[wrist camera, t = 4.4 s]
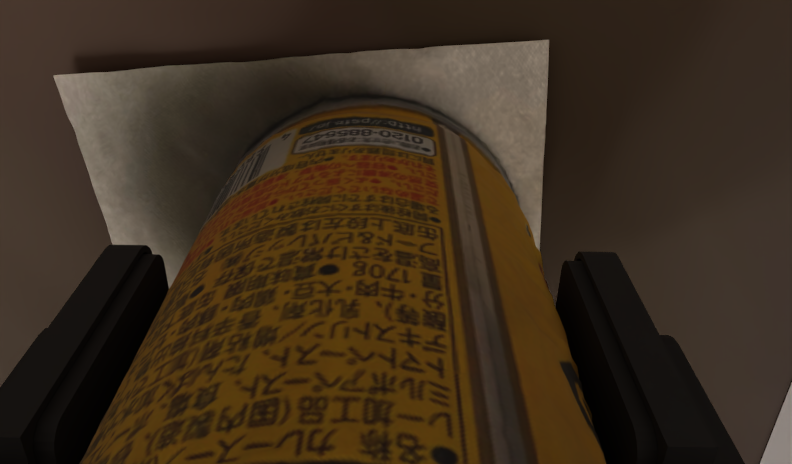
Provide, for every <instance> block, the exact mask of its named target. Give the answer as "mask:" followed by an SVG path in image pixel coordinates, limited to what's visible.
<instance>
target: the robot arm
mask: <svg viewBox="0 0 792 464" xmlns="http://www.w3.org/2000/svg"><path fill="white" fill-rule="evenodd" d="M168 290H169V286H168V281H167V275H166V270H165V264H164V260H163V258H162V256H161V255H159V254H152V251H151V249H150V247H148V246H147V245H109V246H108V247H107V248H106V249H105V250H104V251H103V253H102V254H101V255H100V257H99V258H98V260H97V261H96V262H95V264H94V265H93V266H92V268H91V269H90V271H89V272H88V273H87V275H86V276H85V277H84V279H83V280H82V282H81V283H80V284H79V286H78V287H77V288H76V290H75V291H74V293H73V294H72V295H71V297H70V298H69V300H68V301H67V302H66V304H65V305H64V306H63V308H62V309H61V311H60V312H59V313H58V315H57V316H56V317H55V319H54V320H53V322H52V323H51V324H50V326H49V327H48V328H46V329H44V330H43V331H42V332H41V333H40V334H39V335H38V337H37V338H36V339H35V341H34V342H33V344H32V345H31V346H30V348H29V349H28V350H27V352H26V353H25V354H24V356H23V357H22V359H21V360H20V361H19V363H18V364H17V365H16V367H15V368H14V369H13V371H12V372H11V374H10V375H9V376H8V378H7V379H6V380H5V382H4V383H3V384H2V386H1V387H0V464H79V463H80V462H81V460H82V458H83V457H84V455H85V453H86V451H87V449H88V447H89V445H90V443H91V441H92V438H93V437H94V435H95V434H96V431H97V429H98V427H99V425H100V423H101V420H102V419H103V417H104V415H105V413H106V412H107V410H108V408H109V406H110V405H111V403H112V401H113V399H114V397H115V395H116V393H117V391H118V388H119V387H120V385H121V382H122V381H123V379H124V377H125V375H126V374H127V372H128V370H129V368H130V366H131V364H132V362H133V360H134V358H135V356H136V354H137V352H138V350H139V348H140V346H141V344H142V342H143V340H144V338H145V336H146V334H147V332H148V330H149V328H150V326H151V324H152V322H153V321H154V319H155V317H156V315H157V313H158V311H159V309H160V307H161V305H162V303H163V301H164V299H165V297H166V295H167V292H168ZM556 310H557V312H558V315H559V317H560V319H561V322H562V324H563V327H564V329H565V332H566V335H567V341H568V345H569V349H570V353H571V356H572V359H573V360H574V362H575V364H576V365H577V367H578V374H579V380H580V381H581V382H582V389H583V394H584V399H585V401H586V403H587V405H588V407H589V409H590V411H591V413H592V422H593V425H594V428H595V431H596V433H597V435H598V438H599V441H600V444H601V447H602V449H603V452H604V455H605V459H606V463H607V464H745V463H744V462H743V460H742V458H741V456H740V454H739V452H738V451H737V449H736V447H735V445H734V443H733V442H732V440H731V438H730V436H729V434H728V433H727V431H726V429H725V427H724V425H723V424H722V422H721V420H720V418H719V416H718V415H717V413H716V411H715V409H714V407H713V406H712V404H711V402H710V400H709V398H708V397H707V395H706V393H705V391H704V389H703V388H702V386H701V384H700V382H699V380H698V379H697V377H696V375H695V373H694V371H693V370H692V368H691V366H690V364H689V362H688V361H687V359H686V357H685V355H684V353H683V352H682V350H681V348H680V346H679V344H678V343H677V342H676V340H675V339H674V338H673V337H671V336H669V335H659V333H658V331H657V330H656V328H655V326H654V324H653V322H652V320H651V318H650V316H649V314H648V312H647V311H646V309H645V307H644V305H643V303H642V301H641V299H640V297H639V295H638V293H637V292H636V290H635V288H634V286H633V284H632V282H631V280H630V278H629V276H628V274H627V273H626V271H625V269H624V267H623V265H622V263H621V261H620V259H619V257H618V256H617V254H616V253H614V252H578V253H577V254H576V256H575V259H574V261H564V263H563V265H562V270H561V276H560V283H559V289H558V295H557V302H556Z"/></svg>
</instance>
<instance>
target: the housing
mask: <svg viewBox="0 0 792 464" xmlns="http://www.w3.org/2000/svg"><path fill="white" fill-rule="evenodd" d="M760 464H792V383H791V386H790V388H789V391H788V393H787V396H786V398H785V401H784V403H783V406H782V408H781V411H780V413H779V416H778V419H777V421H776V424H775V426H774V429H773V431H772V434H771V436H770V439H769V441H768V444H767V446H766V449H765V452H764V454H763V457H762V459H761V462H760Z"/></svg>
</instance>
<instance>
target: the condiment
mask: <svg viewBox="0 0 792 464" xmlns="http://www.w3.org/2000/svg"><path fill="white" fill-rule="evenodd" d="M548 62H549V40H538V41H524V42H505V43H489V44H473V45H452V46H436V47H426V48H421V49H391V50H377V51H361V52H354V53H335V54H324V55H314V56H304V57H286V58H278V59H271V60H262V61H251V62H223V63H210V64H195V65H172V66H161V67H150V68H141V69H133V70H124V71H114V72H96V73H79V74H65V75H53V77H54V80H55V82H56V85H57V87H58V90H59V93H60V96H61V98H62V102H63V105H64V108H65V111H66V114H67V116H68V118H69V120H70V122H71V124H72V126H73V128H74V130H75V133H76V136H77V140H78V144H79V147H80V150H81V152H82V155H83V158H84V160H85V164H86V167H87V169H88V172H89V175H90V179H91V182H92V186H93V188H94V191H95V194H96V197H97V200H98V203H99V205H100V207H101V210H102V213H103V216H104V219H105V221H106V224H107V228H108V232H109V235H110V238H111V242H112V245H147V246H148V247H150V249H151V251H152V254H159V255H161V256H162V258H163V260H164V264H165V270H166V275H167V281H168V286H169V290H168V292H167V295H166V297H165V299H164V301H163V303H162V305H161V307H160V309H159V311H158V313H157V315H156V317H155V319H154V321H153V322H152V324H151V326H150V328H149V330H148V332H147V334H146V336H145V338H144V340H143V342H142V344H141V346H140V348H139V350H138V352H137V354H136V356H135V358H134V360H133V362H132V364H131V366H130V368H129V370H128V372H127V374H126V375H125V377H124V379H123V381H122V382H121V385H120V387H119V388H118V391H117V393H116V395H115V397H114V399H113V401H112V403H111V405H110V406H109V408H108V410H107V412H106V413H105V415H104V417H103V419H102V420H101V423H100V425H99V427H98V429H97V431H96V434H95V435H94V437H93V438H92V441H91V443H90V445H89V447H88V449H87V451H86V453H85V455H84V457H83V458H82V460H81V462H80V463H79V464H607V463H606V459H605V455H604V452H603V449H602V447H601V444H600V441H599V438H598V435H597V433H596V431H595V428H594V425H593V422H592V413H591V411H590V409H589V407H588V405H587V403H586V401H585V399H584V394H583V389H582V382H581V381H580V380H579V374H578V367H577V365H576V364H575V362H574V360H573V359H572V356H571V353H570V349H569V345H568V341H567V335H566V332H565V329H564V327H563V324H562V322H561V319H560V317H559V315H558V312H557V310H556V308H555V305H554V301H553V297H552V295H551V293H550V292H549V289H548V285H547V282H546V280H545V279H544V271H543V263H542V257H541V253H540V229H541V209H542V184H543V160H544V147H545V126H546V107H547V87H548Z"/></svg>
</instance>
